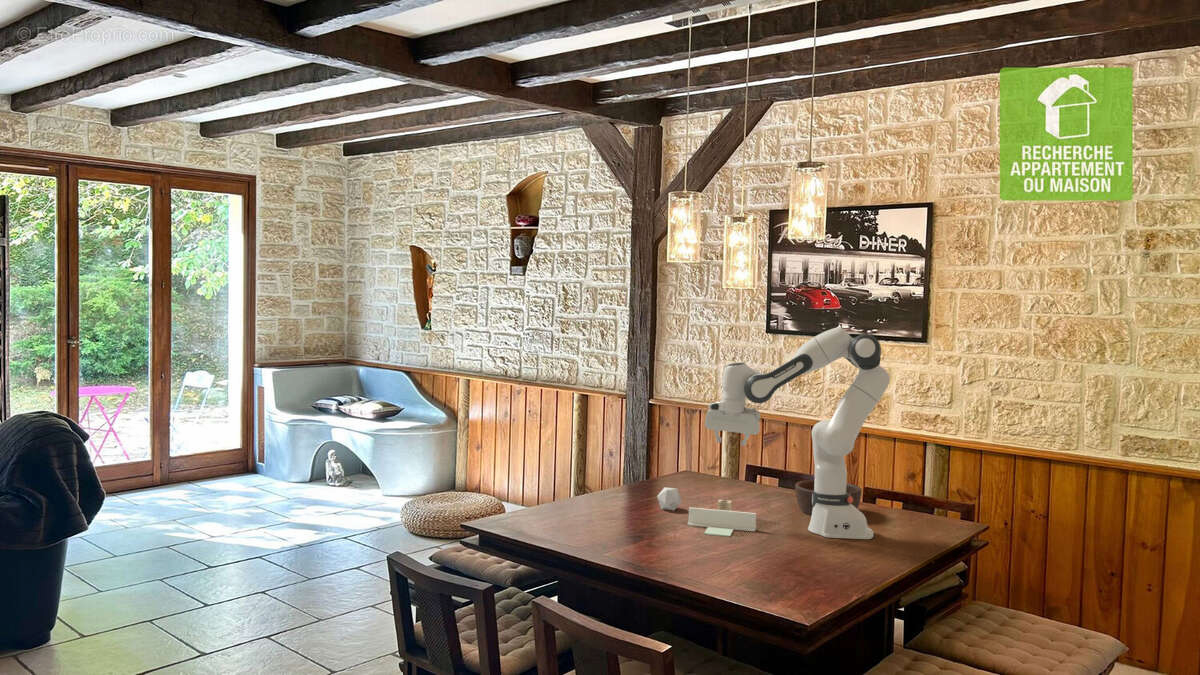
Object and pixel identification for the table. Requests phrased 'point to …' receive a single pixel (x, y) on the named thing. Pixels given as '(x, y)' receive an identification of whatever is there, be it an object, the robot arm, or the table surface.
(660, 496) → the die
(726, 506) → the birch block
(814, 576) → the table surface
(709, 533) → the sage mat
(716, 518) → the white shelf
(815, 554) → the table surface
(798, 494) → the wooden bowl
